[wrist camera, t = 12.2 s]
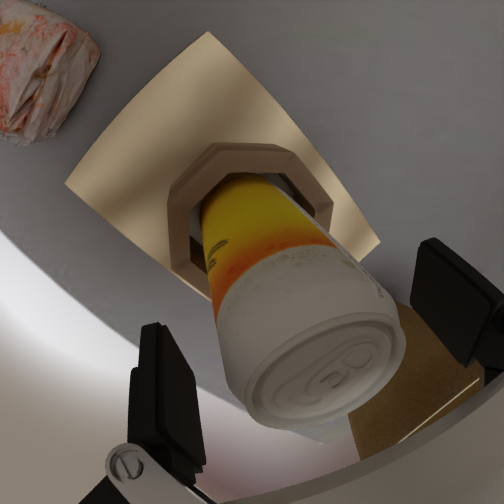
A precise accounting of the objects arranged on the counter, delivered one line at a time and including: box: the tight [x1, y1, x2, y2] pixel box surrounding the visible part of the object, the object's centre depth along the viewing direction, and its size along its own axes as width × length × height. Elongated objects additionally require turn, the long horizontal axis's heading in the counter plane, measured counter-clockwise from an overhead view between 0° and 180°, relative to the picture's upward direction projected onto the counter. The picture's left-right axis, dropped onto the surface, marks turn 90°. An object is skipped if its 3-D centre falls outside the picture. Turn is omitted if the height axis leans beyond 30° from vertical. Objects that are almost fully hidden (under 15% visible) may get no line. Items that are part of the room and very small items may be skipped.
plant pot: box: [348, 301, 479, 461], centre depth 24 cm, size 15×15×16 cm
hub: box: [64, 32, 380, 303], centre depth 20 cm, size 22×14×5 cm, turn 42°
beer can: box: [200, 172, 406, 430], centre depth 14 cm, size 6×6×15 cm
